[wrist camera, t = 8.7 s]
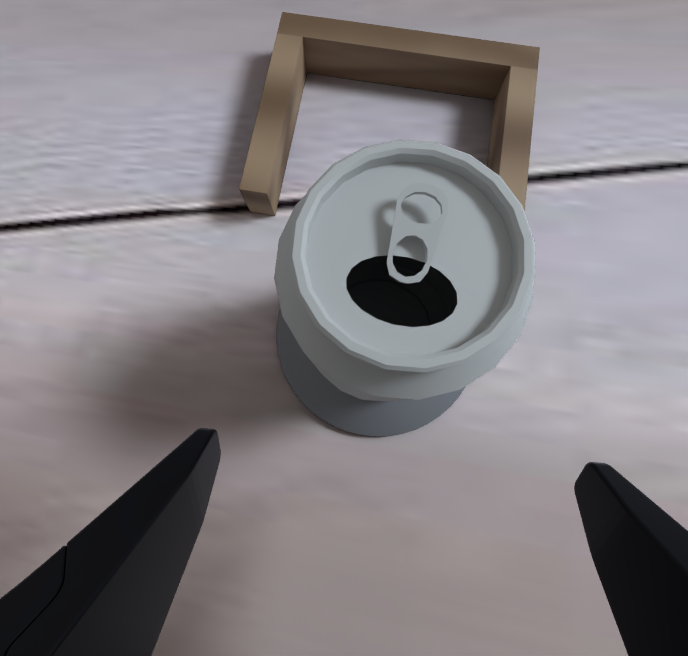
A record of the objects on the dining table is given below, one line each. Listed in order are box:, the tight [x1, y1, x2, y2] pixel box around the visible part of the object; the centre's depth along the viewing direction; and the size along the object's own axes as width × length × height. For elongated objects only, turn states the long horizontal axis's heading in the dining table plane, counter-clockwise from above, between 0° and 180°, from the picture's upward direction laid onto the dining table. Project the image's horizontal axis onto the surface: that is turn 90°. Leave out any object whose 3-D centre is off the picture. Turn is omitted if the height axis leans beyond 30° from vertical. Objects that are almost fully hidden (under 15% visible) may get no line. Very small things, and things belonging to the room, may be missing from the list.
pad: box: [277, 309, 465, 436], centre depth 22 cm, size 11×11×1 cm
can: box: [274, 140, 535, 402], centre depth 16 cm, size 8×8×12 cm
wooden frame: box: [239, 12, 540, 216], centre depth 23 cm, size 12×15×2 cm
